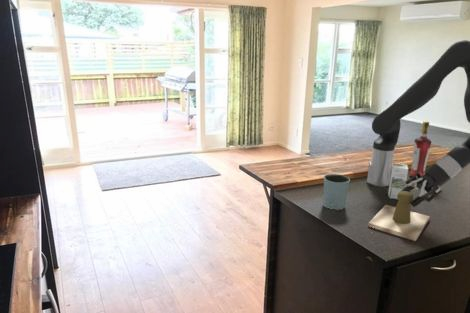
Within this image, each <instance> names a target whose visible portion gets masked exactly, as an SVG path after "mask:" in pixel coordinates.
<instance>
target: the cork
mask: <svg viewBox="0 0 470 313" xmlns="http://www.w3.org/2000/svg"><path fill="white" fill-rule="evenodd" d="M397 198H398V200H397V203H396V206H395V207H396V209H395V212H394V215H393V220H394V221H395V222H397V223H401V224H408V223H410V214H411V212H412V210H411V206H412V205H411V204H410V202H411V201H412V200H413V199H414V195H413V193H412V192H411V191H410V192H407V191H400V192H399V193H398V195H397Z"/></svg>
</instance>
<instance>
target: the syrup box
mask: <svg viewBox="0 0 470 313" xmlns="http://www.w3.org/2000/svg"><path fill="white" fill-rule="evenodd" d="M408 174H409V167H408V164H402V163H395V162H392V168H391V175H390V182H389V185H388V190H387V194H388V199H391V200H396V201H398V198H397V195H398V193H399V192H400V191H401V190H403V189H404V188H405V187H406V183H405V182H406V181H407V180H408Z"/></svg>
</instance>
